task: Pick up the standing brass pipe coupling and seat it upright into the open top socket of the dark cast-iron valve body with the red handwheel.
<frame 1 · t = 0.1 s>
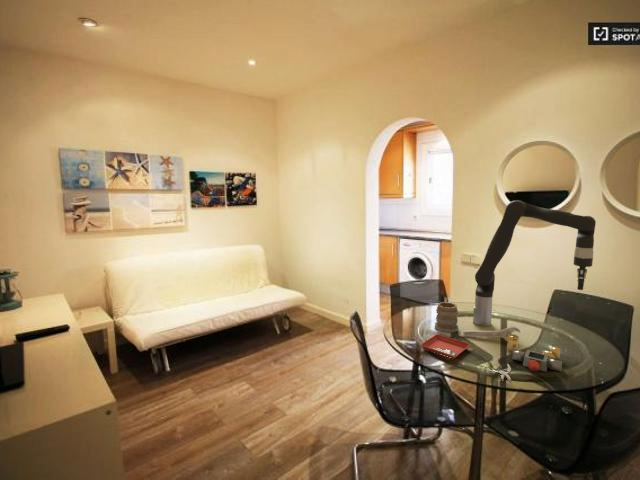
hand: (580, 287, 177), 29 cm above the table, fingers open, 8 cm apart
brass elbow: (548, 358, 165), on the table
tankard: (446, 326, 206), on the table
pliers: (501, 373, 154), on the table
plant saucer: (445, 350, 176), on the table
wrench: (488, 339, 188), on the table
valve body: (535, 364, 160), on the table
brass coupling: (512, 351, 173), on the table
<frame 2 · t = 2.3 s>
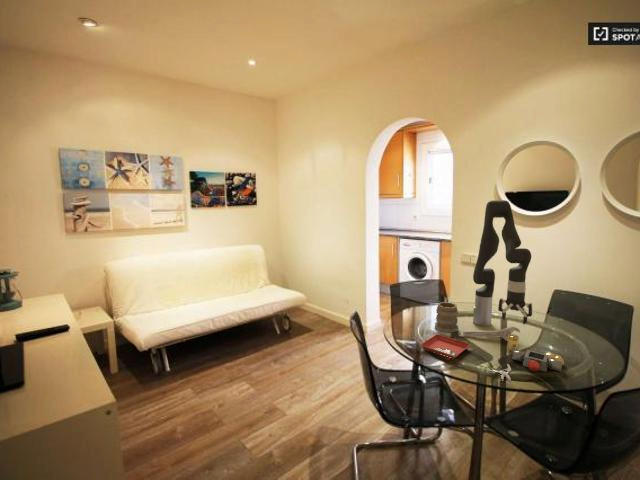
hand: (514, 321, 170), 15 cm above the table, fingers open, 8 cm apart
brass elbow: (549, 356, 164), point 2 cm above the table, tilted 90°
everything else where it was.
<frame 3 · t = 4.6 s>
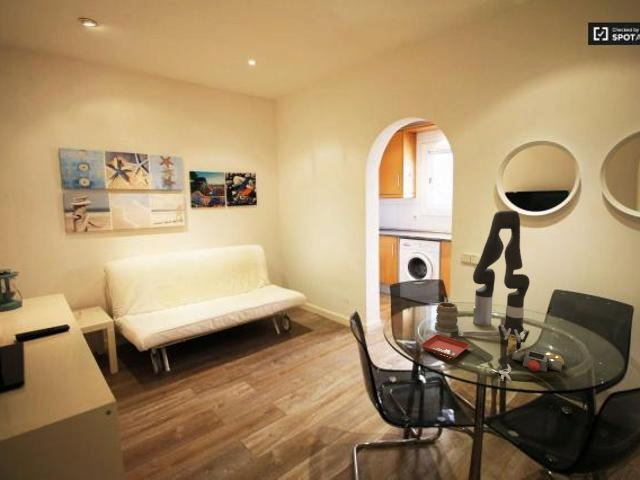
hand: (512, 347, 172), 2 cm above the table, fingers closed on brass coupling, 4 cm apart
brass coupling: (512, 351, 173), on the table, touching gripper
everything else where it was.
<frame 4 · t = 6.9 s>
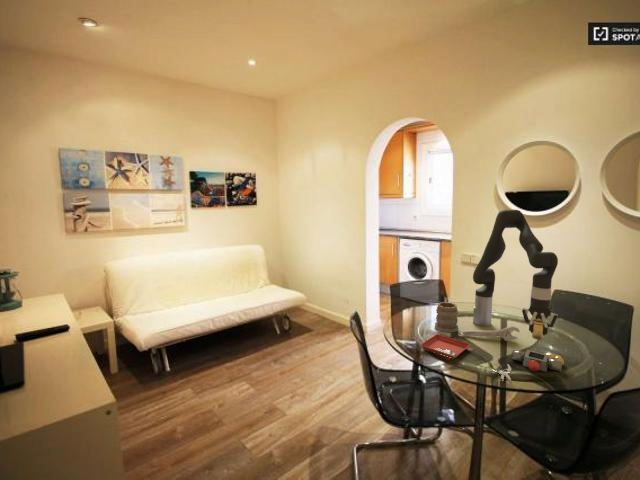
hand: (538, 333, 157), 15 cm above the table, fingers closed on brass coupling, 4 cm apart
brass coupling: (537, 337, 158), point 13 cm above the table, touching gripper
everything else where it was.
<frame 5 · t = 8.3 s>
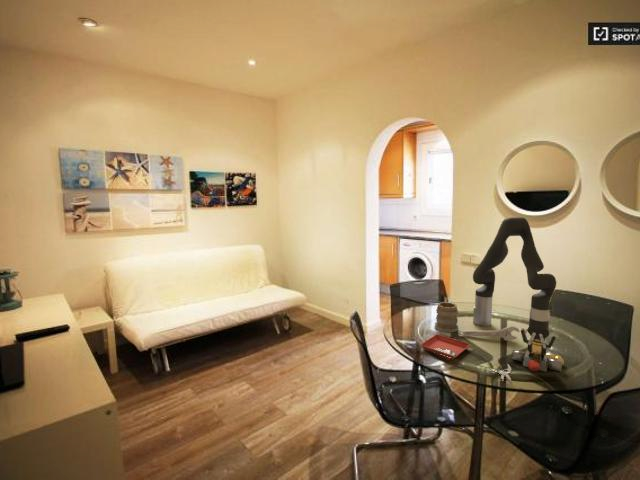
hand: (536, 353, 159), 5 cm above the table, fingers closed on brass coupling, 4 cm apart
brass coupling: (536, 357, 159), point 3 cm above the table, touching gripper
everything else where it was.
when the fingers open (5 cm above the table, at t = 9.2 s): brass coupling drops 1 cm, resting on valve body.
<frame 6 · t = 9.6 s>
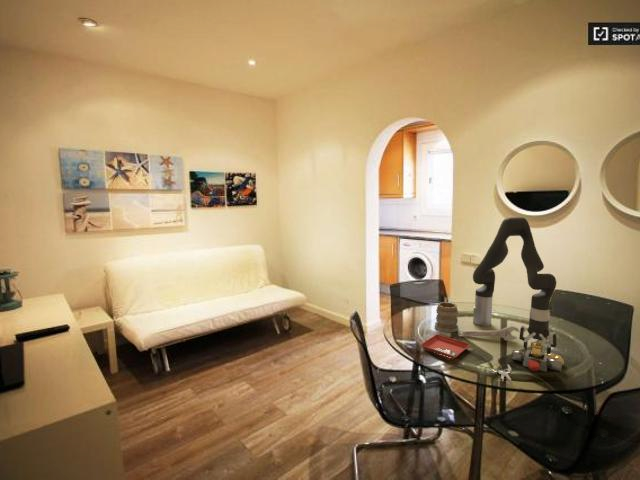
hand: (536, 351, 159), 6 cm above the table, fingers open, 8 cm apart
brass coupling: (535, 360, 159), point 2 cm above the table, touching valve body
everything else where it was.
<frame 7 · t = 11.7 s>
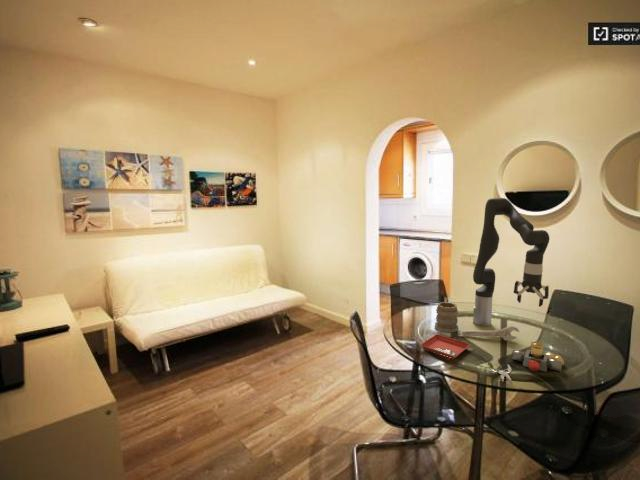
hand: (529, 304, 170), 24 cm above the table, fingers open, 8 cm apart
nothing on the table moved.
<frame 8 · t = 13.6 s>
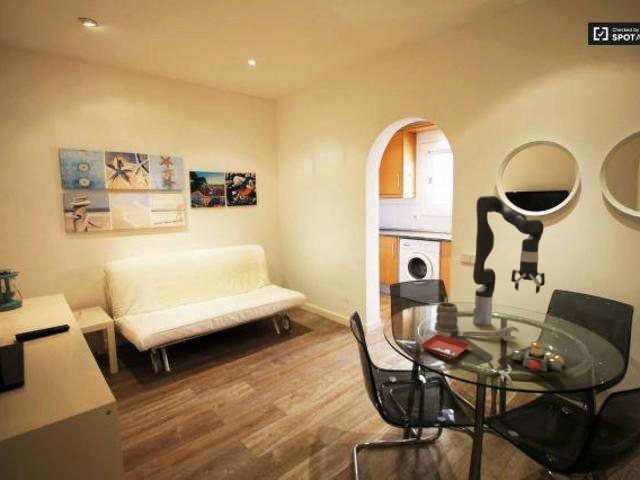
hand: (526, 291, 176), 28 cm above the table, fingers open, 8 cm apart
nothing on the table moved.
at the end: brass coupling 0.1 cm off-centre on the valve body, point 2.0 cm above the valve body's base; brass coupling tilted 0°; the gripper is holding nothing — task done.
